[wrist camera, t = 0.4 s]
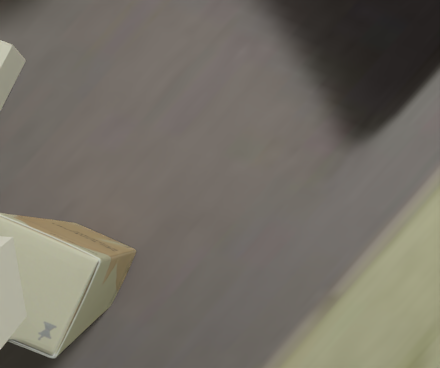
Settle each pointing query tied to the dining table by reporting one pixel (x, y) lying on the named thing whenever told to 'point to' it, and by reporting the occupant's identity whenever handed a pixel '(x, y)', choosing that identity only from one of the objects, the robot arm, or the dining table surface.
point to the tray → (9, 69)
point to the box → (62, 279)
